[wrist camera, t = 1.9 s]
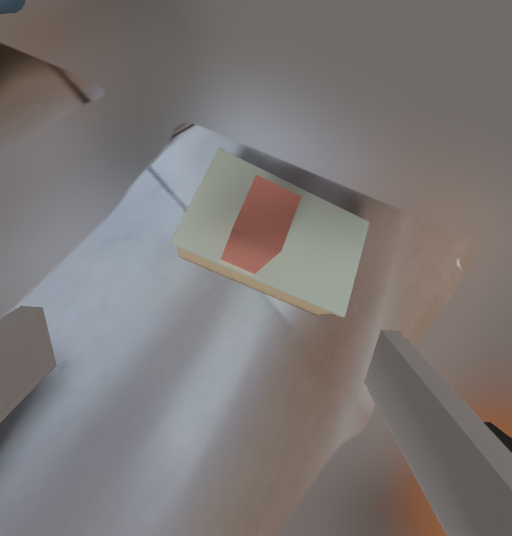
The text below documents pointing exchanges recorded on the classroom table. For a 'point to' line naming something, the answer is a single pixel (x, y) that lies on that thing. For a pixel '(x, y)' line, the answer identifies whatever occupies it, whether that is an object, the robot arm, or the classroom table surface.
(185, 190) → the classroom table surface
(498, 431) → the robot arm
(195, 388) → the classroom table surface
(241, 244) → the lid
